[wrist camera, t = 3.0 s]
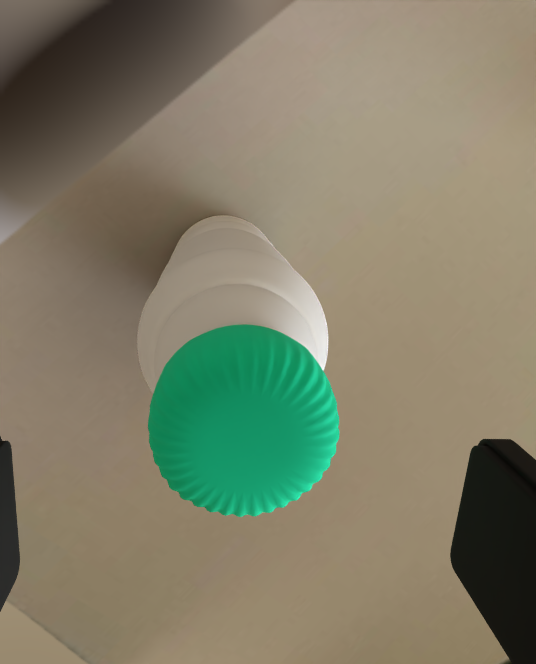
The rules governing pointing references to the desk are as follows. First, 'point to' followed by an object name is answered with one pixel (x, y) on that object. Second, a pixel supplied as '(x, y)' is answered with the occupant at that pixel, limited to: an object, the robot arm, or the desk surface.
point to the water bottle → (236, 372)
